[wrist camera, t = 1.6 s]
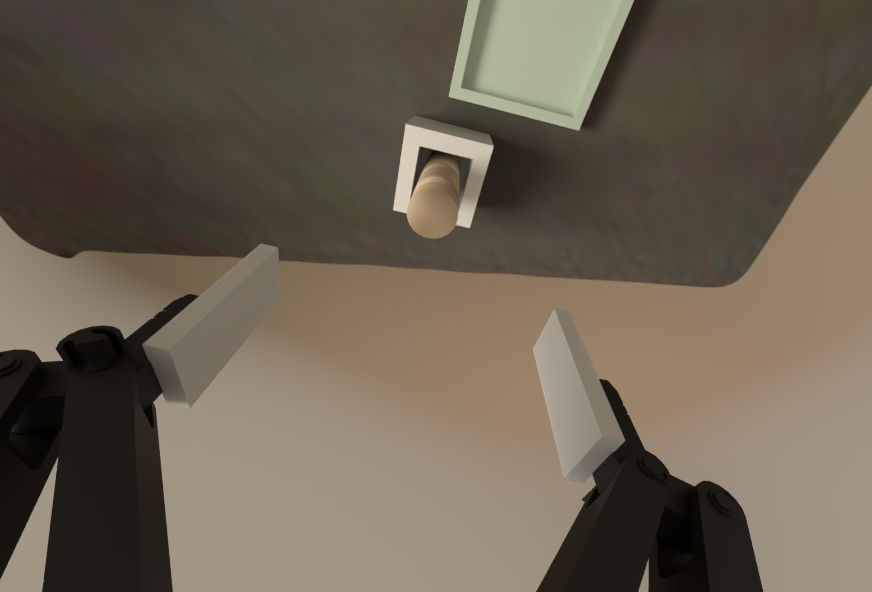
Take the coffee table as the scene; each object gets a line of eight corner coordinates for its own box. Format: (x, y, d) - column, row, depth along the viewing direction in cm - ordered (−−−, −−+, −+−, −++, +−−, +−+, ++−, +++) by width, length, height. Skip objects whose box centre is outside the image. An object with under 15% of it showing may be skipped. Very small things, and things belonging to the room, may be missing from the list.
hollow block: (403, 190, 42) (393, 210, 36) (415, 115, 37) (405, 123, 31) (469, 206, 42) (469, 228, 36) (489, 134, 37) (493, 146, 31)
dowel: (423, 178, 40) (403, 232, 27) (430, 143, 37) (411, 183, 24) (455, 186, 40) (451, 243, 27) (464, 152, 38) (463, 196, 25)
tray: (449, 95, 35) (448, 96, 33) (482, -63, 29) (483, -72, 27) (572, 127, 36) (578, 130, 34) (633, -19, 29) (644, -25, 28)
